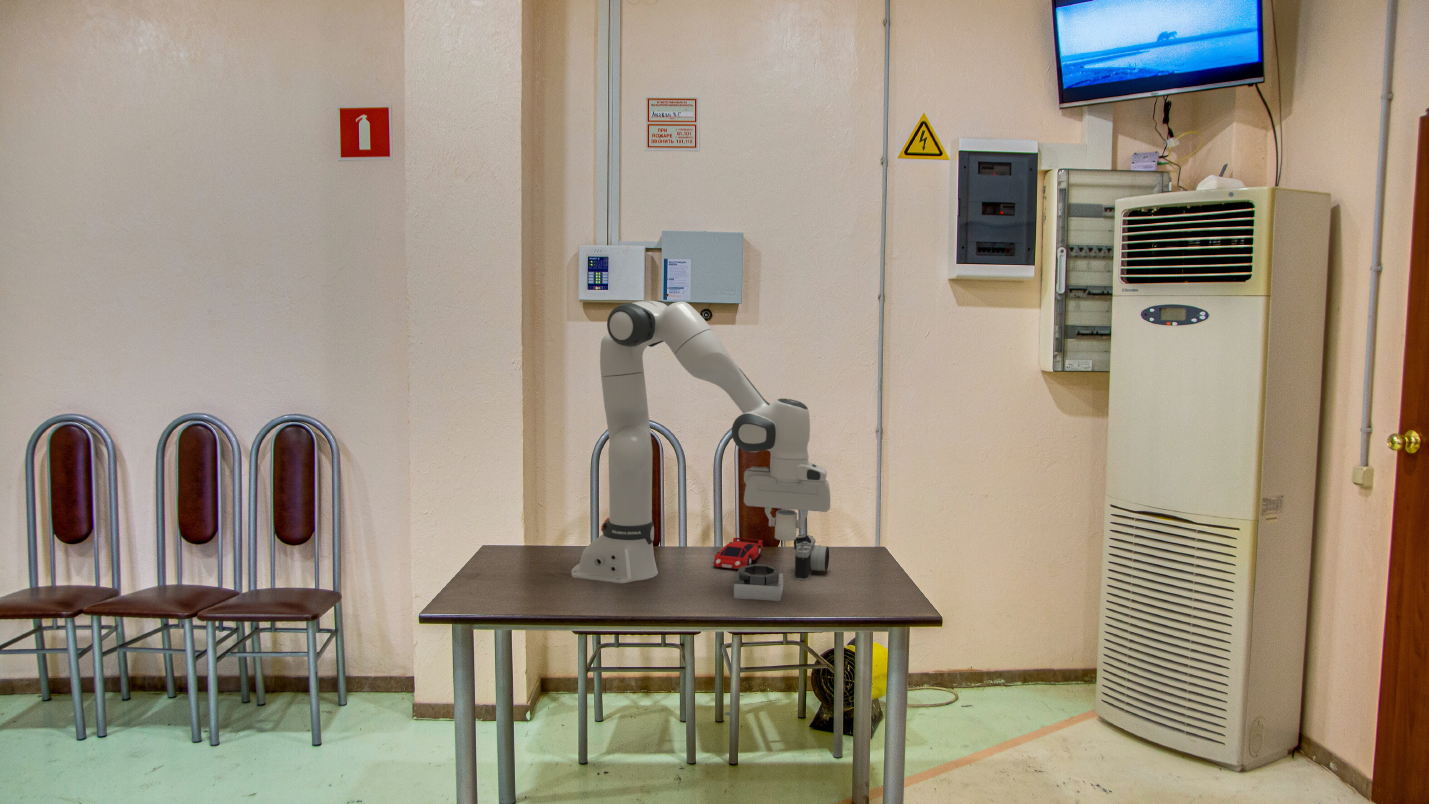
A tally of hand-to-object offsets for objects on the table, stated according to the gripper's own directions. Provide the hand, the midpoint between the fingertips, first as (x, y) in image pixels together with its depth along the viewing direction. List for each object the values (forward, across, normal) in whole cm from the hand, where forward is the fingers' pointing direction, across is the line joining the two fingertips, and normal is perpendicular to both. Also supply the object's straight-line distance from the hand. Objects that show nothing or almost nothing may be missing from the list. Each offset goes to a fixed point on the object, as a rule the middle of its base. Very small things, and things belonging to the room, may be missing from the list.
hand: (785, 527), depth 184 cm
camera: (+18, +6, +23) cm, 30 cm away
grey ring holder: (+18, -6, +4) cm, 19 cm away
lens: (+3, 0, 0) cm, 3 cm away
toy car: (+19, -14, +30) cm, 38 cm away
